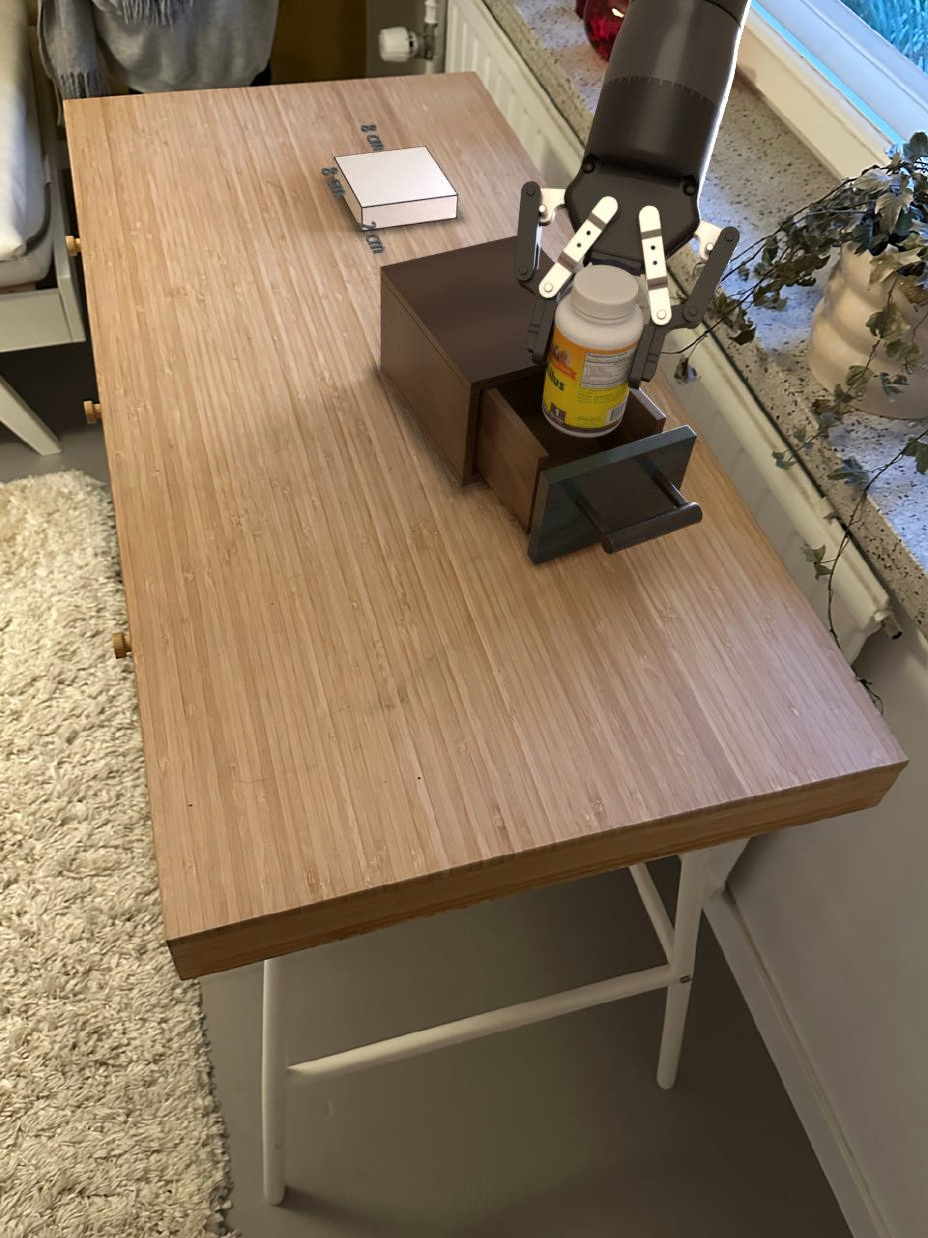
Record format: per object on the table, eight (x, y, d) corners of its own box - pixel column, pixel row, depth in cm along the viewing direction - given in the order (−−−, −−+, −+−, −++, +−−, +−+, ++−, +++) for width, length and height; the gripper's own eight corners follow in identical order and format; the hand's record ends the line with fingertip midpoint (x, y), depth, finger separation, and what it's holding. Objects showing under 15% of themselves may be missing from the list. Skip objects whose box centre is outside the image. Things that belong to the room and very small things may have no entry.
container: (476, 248, 95) (478, 221, 93) (358, 265, 92) (357, 238, 90) (408, 143, 106) (409, 118, 104) (301, 156, 103) (299, 129, 101)
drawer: (709, 562, 71) (740, 481, 65) (569, 615, 67) (588, 534, 61) (574, 404, 80) (590, 320, 74) (446, 443, 77) (451, 358, 71)
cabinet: (605, 441, 79) (628, 338, 72) (461, 487, 75) (470, 383, 68) (514, 335, 87) (527, 232, 80) (380, 371, 83) (379, 266, 75)
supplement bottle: (537, 386, 70) (556, 254, 62) (616, 388, 71) (645, 257, 63) (543, 441, 67) (565, 309, 59) (627, 443, 67) (659, 311, 59)
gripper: (542, 48, 59) (467, 337, 61) (788, 99, 57) (701, 395, 59) (553, 101, 67) (485, 357, 69) (771, 148, 65) (694, 410, 67)
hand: (586, 374), depth 64 cm, fingers closed on supplement bottle, 5 cm apart
